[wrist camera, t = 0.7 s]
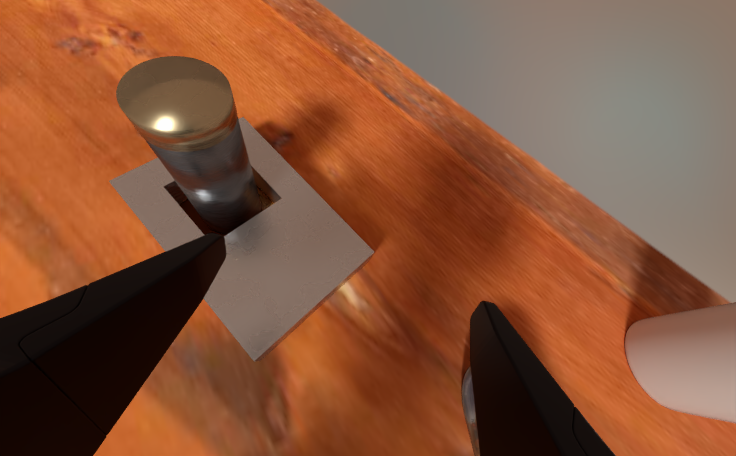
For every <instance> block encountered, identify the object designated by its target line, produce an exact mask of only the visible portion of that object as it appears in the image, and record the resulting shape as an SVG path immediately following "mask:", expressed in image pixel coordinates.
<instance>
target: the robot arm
mask: <svg viewBox="0 0 736 456" xmlns="http://www.w3.org/2000/svg"><path fill="white" fill-rule="evenodd" d="M226 254H227V252H226V245H225V238H224V236H222V235H219V234H215V233H209V234H206V235H204V236H202V237H199V238H197V239H194V240H192V241H190V242H187V243H185V244H183V245H180V246H178V247H175V248H173V249H171V250H168V251H166V252H164V253H161V254H159V255H156V256H154V257H152V258H149V259H147V260H145V261H142V262H140V263H137V264H135V265H133V266H130V267H128V268H126V269H123V270H121V271H118V272H116V273H114V274H111V275H109V276H106V277H104V278H102V279H99V280H97V281H95V282H92V283H90V284H89V285H85V286H83V287H80V288H78V289H75V290H73V291H71V292H68V293H66V294H63V295H61V296H58V297H56V298H53V299H51V300H48V301H46V302H43V303H41V304H38V305H35V306H33V307H30V308H27V309H24V310H22V311H19V312H16V313H14V314H11V315H8V316H5V317H3V318H0V456H93V455H94V454H95V452H96V451H97V449H98V448H99V447H100V445H101V444H102V442H103V441H104V440H105V438H106V435H108V433H109V432H110V431H111V429H112V428H113V426H114V425H115V424H116V422H117V421H118V419H119V418H120V416H121V415H122V414H123V412H124V411H125V409H126V408H127V406H128V405H129V404H130V402H131V401H132V399H133V398H134V397H135V395H136V394H137V392H138V391H139V389H140V388H141V387H142V385H143V384H144V382H145V381H146V380H147V378H148V377H149V375H150V374H151V372H152V371H153V370H154V368H155V367H156V365H157V364H158V362H159V361H160V360H161V358H162V357H163V355H164V354H165V353H166V351H167V350H168V348H169V347H170V345H171V344H172V343H173V341H174V340H175V338H176V337H177V335H178V334H179V333H180V331H181V330H182V328H183V327H184V326H185V324H186V323H187V321H188V320H189V318H190V317H191V316H192V314H193V313H194V311H195V310H196V308H197V307H198V306H199V304H200V303H201V301H202V300H203V298H204V297H205V295H206V293H207V292H208V290H209V288H210V286H211V284H212V283H213V281H214V279H215V277H216V275H217V273H218V272H219V270H220V268H221V266H222V264H223V262H224V261H225V258H226ZM470 366H471V377H472V386H473V395H474V404H475V413H476V422H477V431H478V441H479V450H480V456H616V455H615V454H614V453H613V452H612V451H611V450H610V448H609V447H608V446H607V445H606V444H605V443H604V441H603V440H602V439H601V438H600V436H599V435H598V434H597V433H596V432H595V430H594V429H593V428H592V427H591V425H590V424H589V423H588V422H587V420H586V419H585V418H584V417H583V415H582V414H581V413H580V411H579V410H578V409H577V408H576V407H574V404H573V403H572V401H571V400H570V399H569V398H568V396H567V395H566V394H565V392H564V391H563V390H562V389H561V387H560V386H559V385H558V384H557V382H556V381H555V380H554V378H553V377H552V376H551V375H550V373H549V372H548V371H547V369H546V368H545V367H544V366H543V364H542V363H541V362H540V361H539V359H538V358H537V357H536V355H535V354H534V353H533V352H532V350H531V349H530V348H529V347H528V345H527V344H526V343H525V341H524V340H523V339H522V338H521V336H520V335H519V334H518V332H517V331H516V330H515V329H514V327H513V326H512V325H511V324H510V322H509V321H508V320H507V318H506V317H505V316H504V315H503V313H502V312H501V311H500V310H499V308H498V307H497V306H496V305H495V304H494V303H491V302H487V301H482V302H480V304H479V305H478V306H477V308H476V309H475V311H474V312H473V314H472V316H471V319H470Z"/></svg>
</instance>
